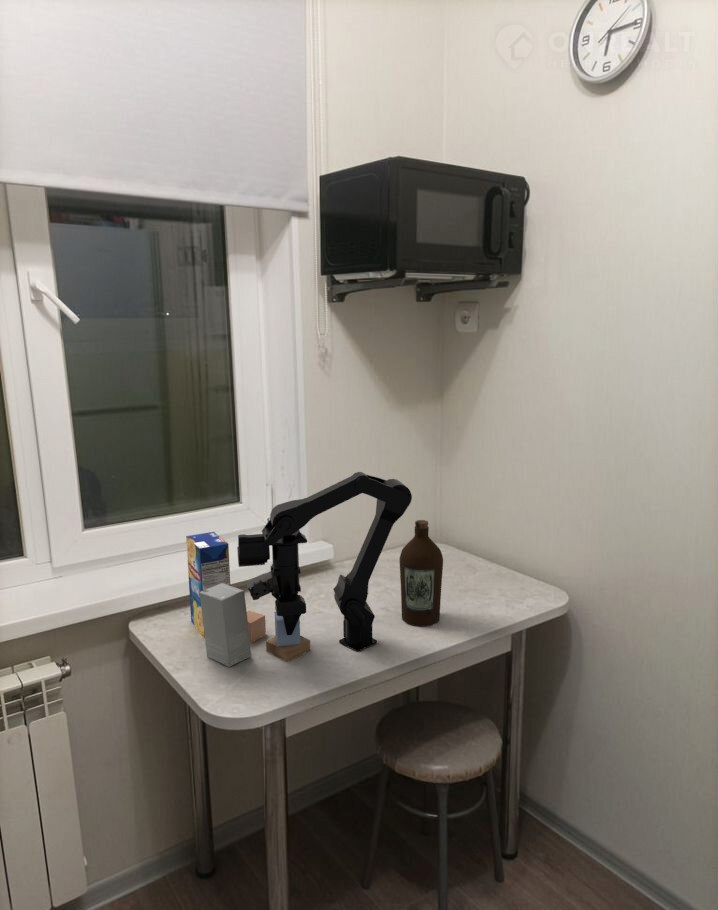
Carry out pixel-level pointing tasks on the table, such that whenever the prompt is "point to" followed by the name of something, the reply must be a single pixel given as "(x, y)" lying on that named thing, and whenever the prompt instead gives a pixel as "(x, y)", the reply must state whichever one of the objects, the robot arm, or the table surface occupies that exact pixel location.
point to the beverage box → (205, 569)
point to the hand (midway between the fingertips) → (287, 628)
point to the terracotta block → (256, 625)
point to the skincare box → (225, 624)
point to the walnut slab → (287, 649)
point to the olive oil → (421, 578)
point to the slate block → (282, 635)
